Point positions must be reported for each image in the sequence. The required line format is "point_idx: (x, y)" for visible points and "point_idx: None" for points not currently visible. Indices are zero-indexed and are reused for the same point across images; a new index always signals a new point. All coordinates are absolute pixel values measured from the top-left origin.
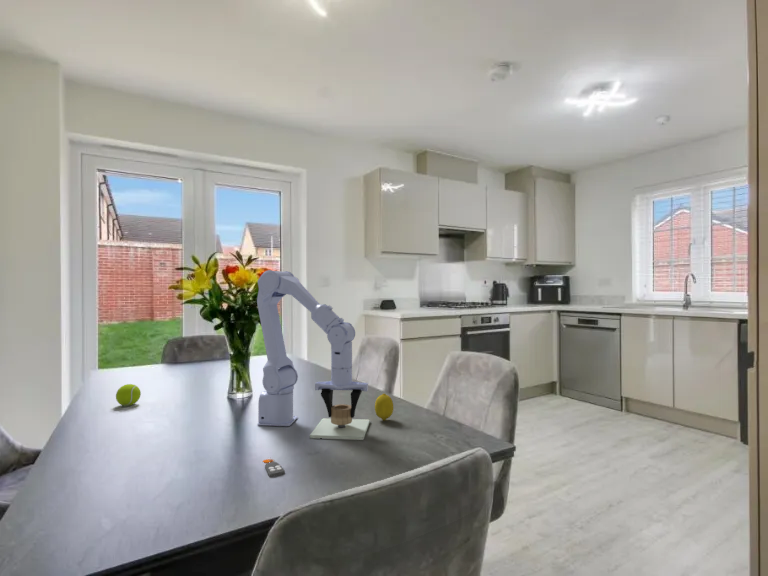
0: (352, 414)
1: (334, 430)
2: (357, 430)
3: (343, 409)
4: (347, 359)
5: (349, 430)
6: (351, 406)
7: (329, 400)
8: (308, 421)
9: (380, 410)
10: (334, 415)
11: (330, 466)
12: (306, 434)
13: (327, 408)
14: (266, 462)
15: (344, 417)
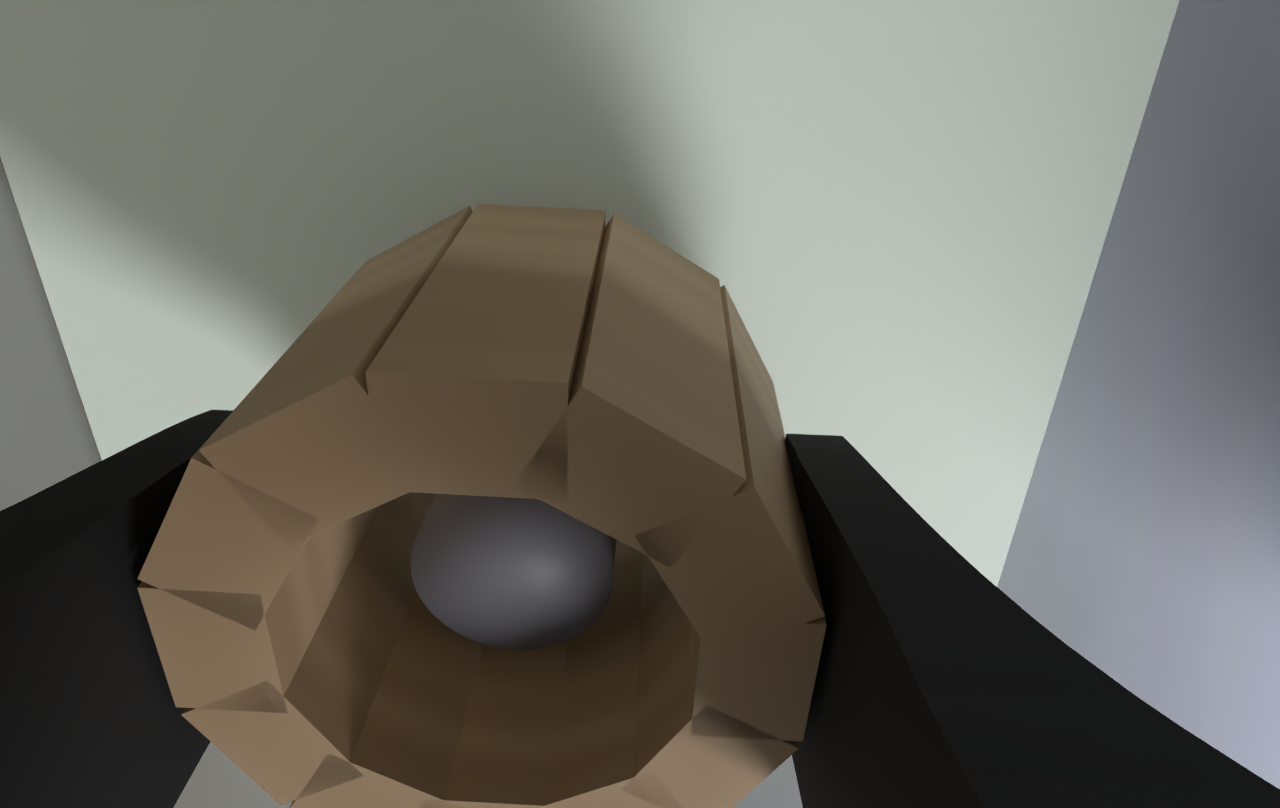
0: (168, 436)
1: (665, 168)
2: (180, 192)
3: (344, 457)
4: None
5: (345, 184)
6: (25, 570)
7: (965, 766)
8: (1164, 680)
9: None
10: (673, 339)
11: None
12: (1259, 67)
13: (945, 555)
14: None
15: (374, 300)
